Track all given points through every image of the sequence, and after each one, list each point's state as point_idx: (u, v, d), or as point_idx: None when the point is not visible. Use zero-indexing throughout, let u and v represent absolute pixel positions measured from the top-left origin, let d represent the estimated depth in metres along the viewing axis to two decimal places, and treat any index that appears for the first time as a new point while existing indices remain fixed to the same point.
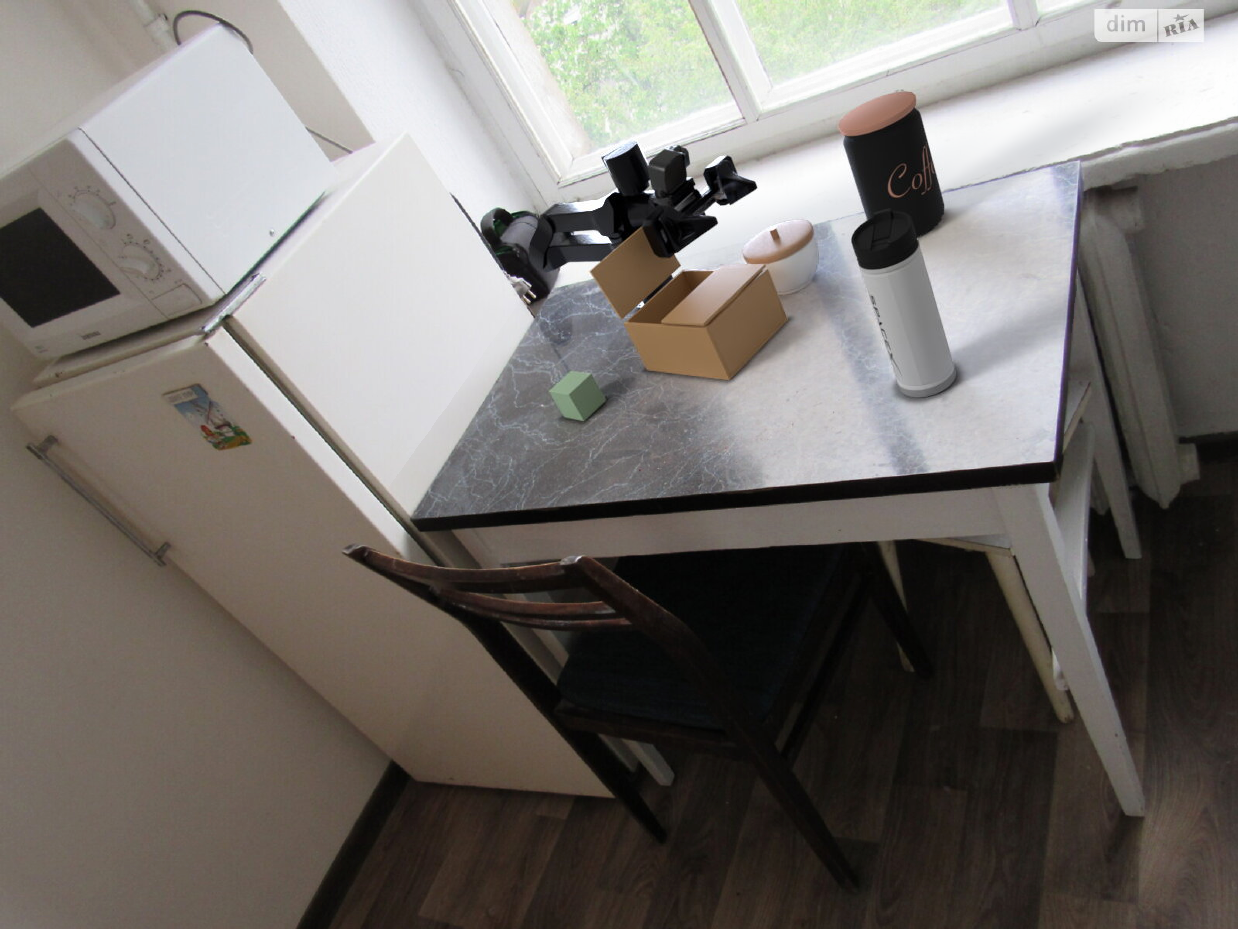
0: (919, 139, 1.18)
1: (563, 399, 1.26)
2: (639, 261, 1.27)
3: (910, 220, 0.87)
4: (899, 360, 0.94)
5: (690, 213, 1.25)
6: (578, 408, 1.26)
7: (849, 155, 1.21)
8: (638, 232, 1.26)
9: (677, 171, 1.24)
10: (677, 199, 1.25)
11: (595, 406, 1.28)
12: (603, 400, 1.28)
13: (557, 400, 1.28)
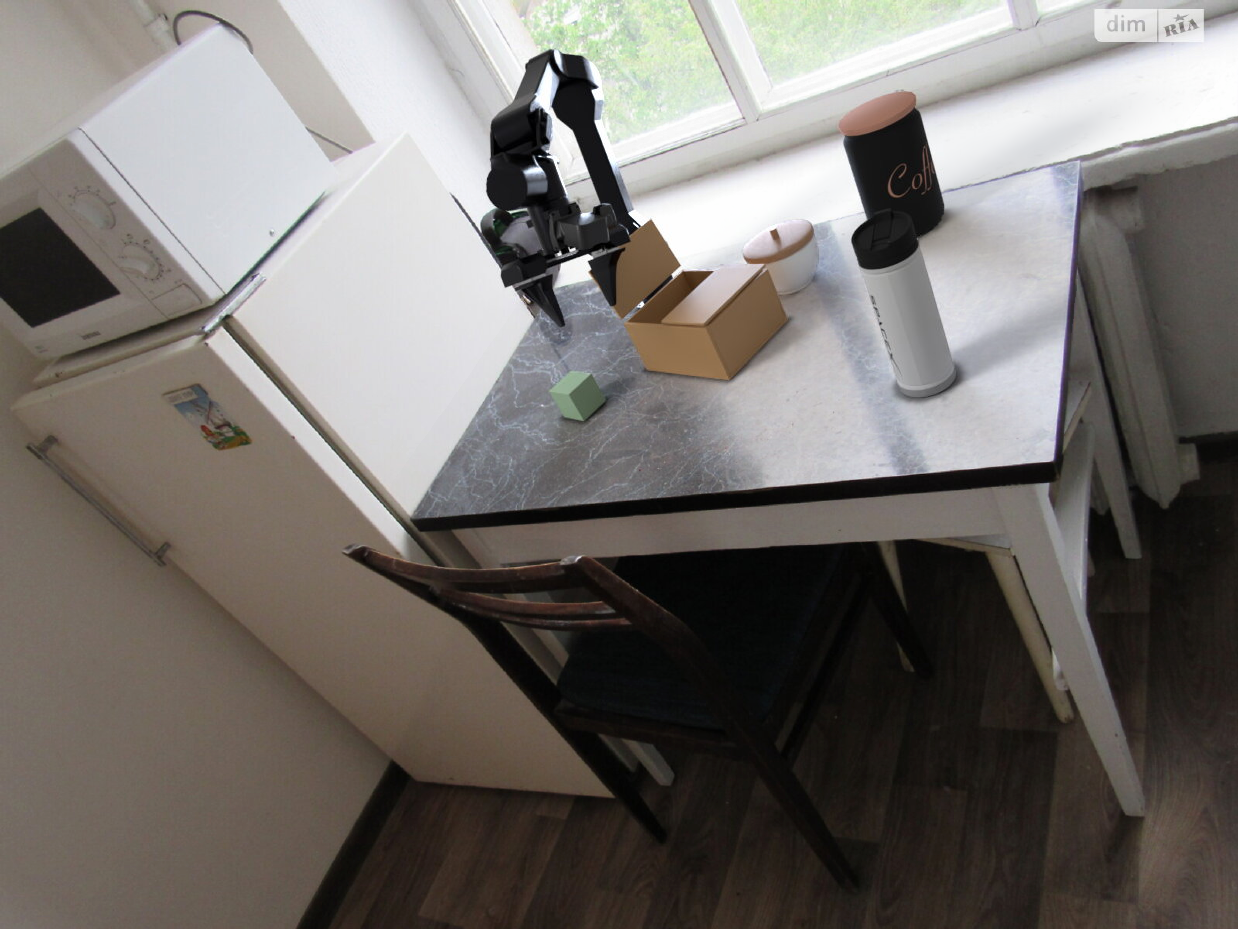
0: (919, 139, 1.18)
1: (563, 399, 1.26)
2: (638, 261, 1.27)
3: (910, 220, 0.87)
4: (899, 360, 0.94)
5: None
6: (578, 408, 1.26)
7: (849, 155, 1.21)
8: (637, 232, 1.27)
9: None
10: (564, 248, 1.14)
11: (595, 406, 1.28)
12: (603, 400, 1.28)
13: (557, 400, 1.28)
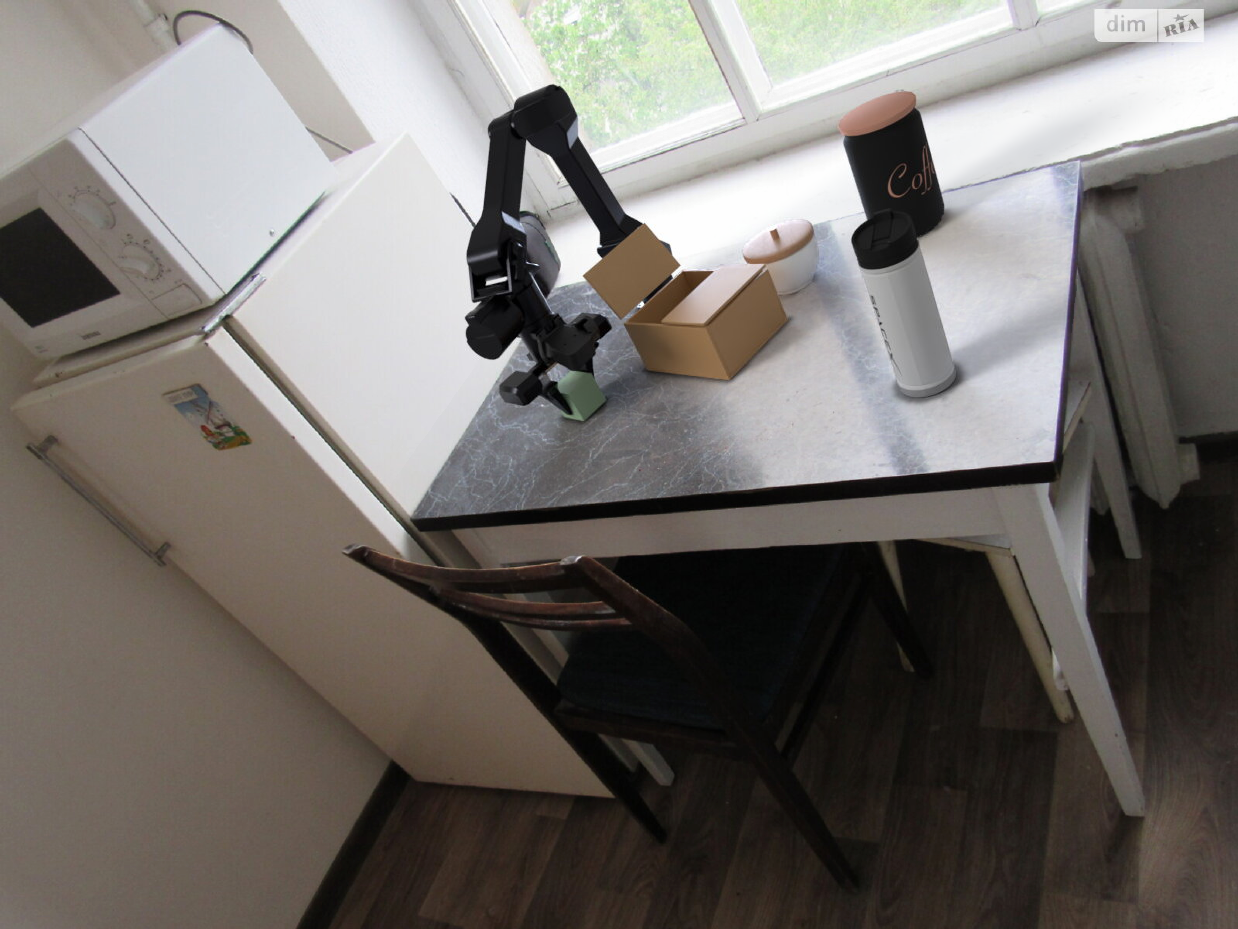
0: (919, 139, 1.18)
1: None
2: (634, 263, 1.28)
3: (910, 220, 0.87)
4: (899, 360, 0.94)
5: None
6: (578, 408, 1.26)
7: (849, 155, 1.21)
8: (630, 236, 1.28)
9: None
10: None
11: (595, 406, 1.28)
12: (603, 400, 1.28)
13: None
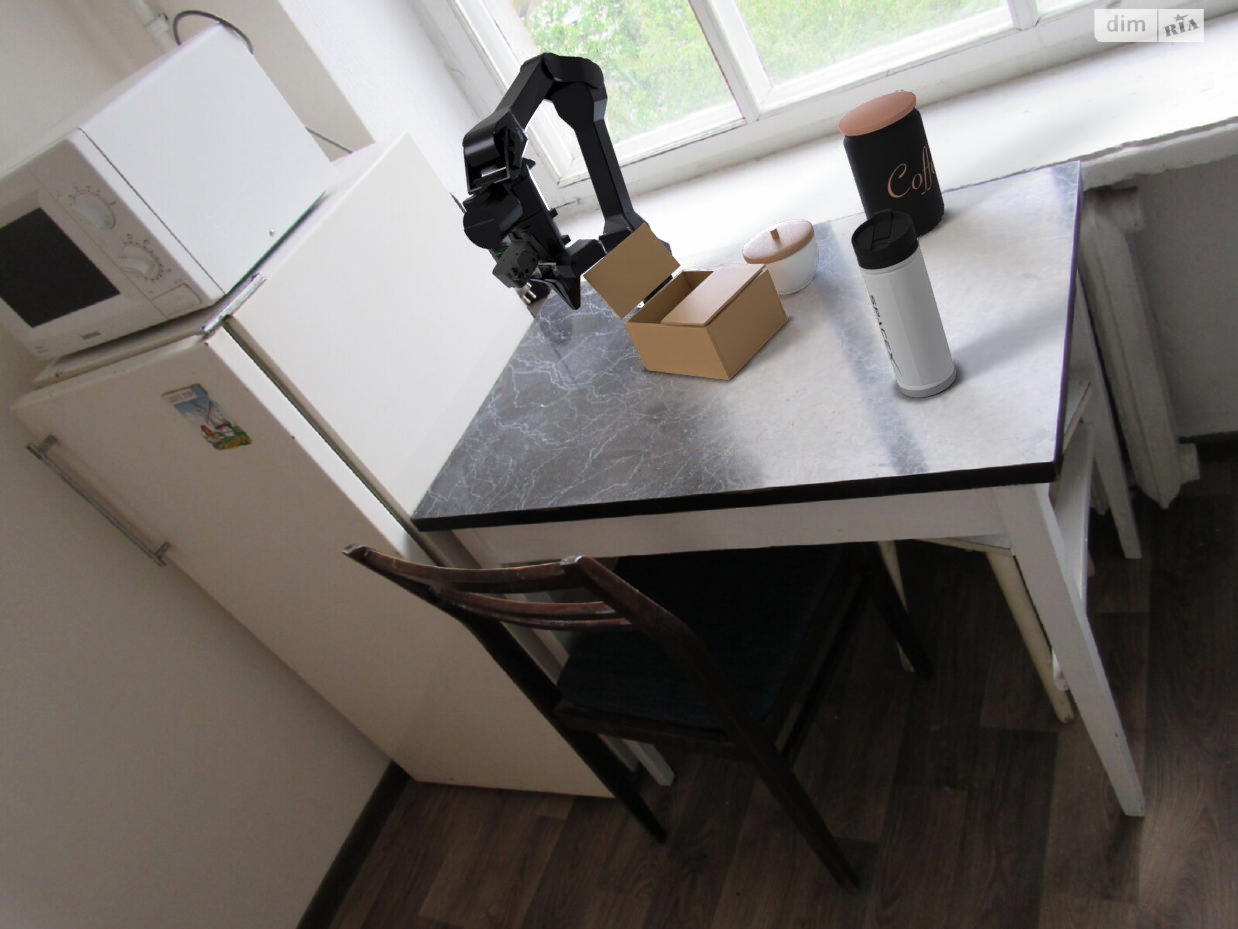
0: (919, 139, 1.18)
1: None
2: (635, 263, 1.28)
3: (910, 220, 0.87)
4: (899, 360, 0.94)
5: None
6: None
7: (849, 155, 1.21)
8: (631, 236, 1.28)
9: None
10: None
11: None
12: None
13: None
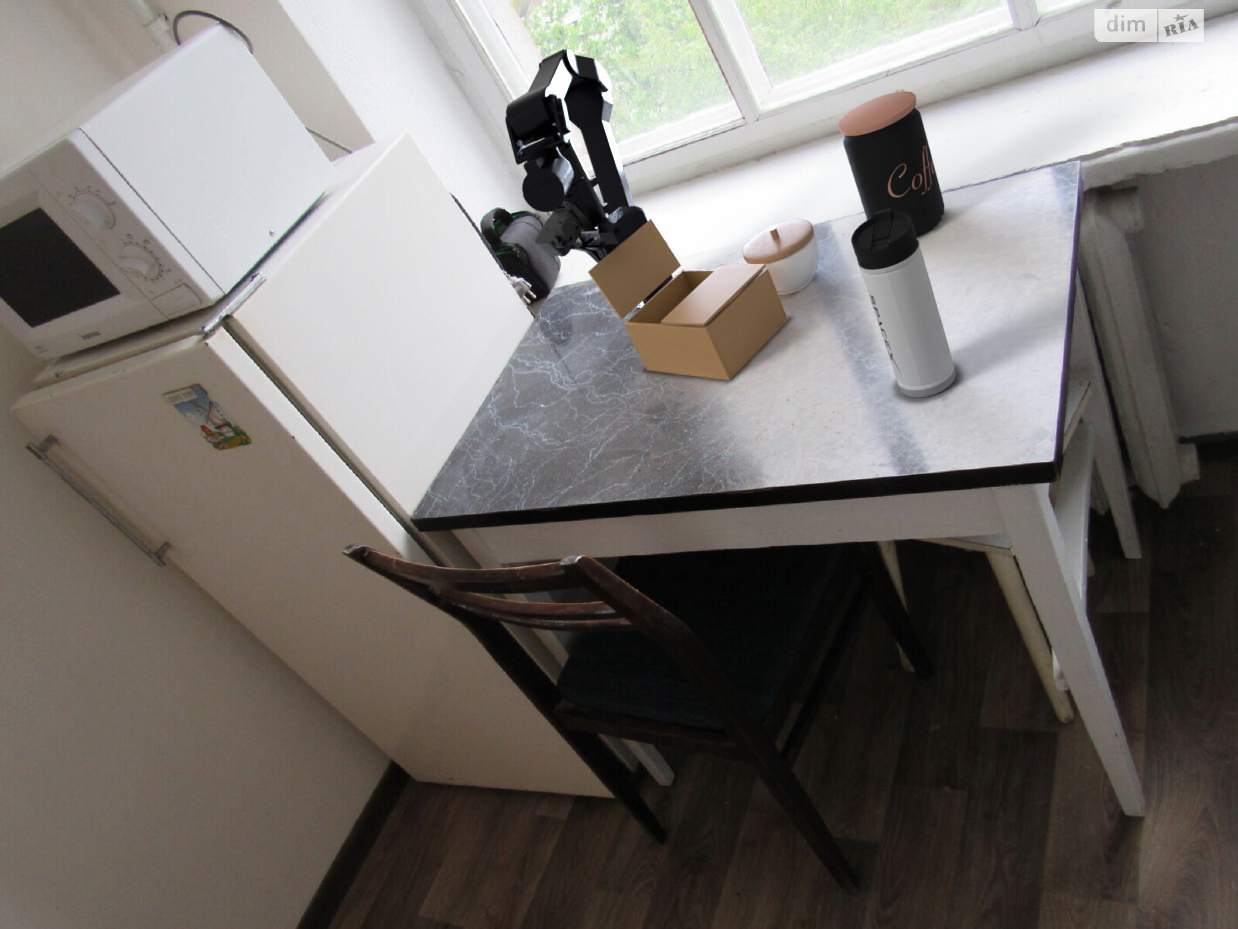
0: (919, 139, 1.18)
1: None
2: (638, 261, 1.27)
3: (910, 220, 0.87)
4: (899, 360, 0.94)
5: None
6: None
7: (849, 155, 1.21)
8: (636, 233, 1.27)
9: None
10: None
11: None
12: None
13: None
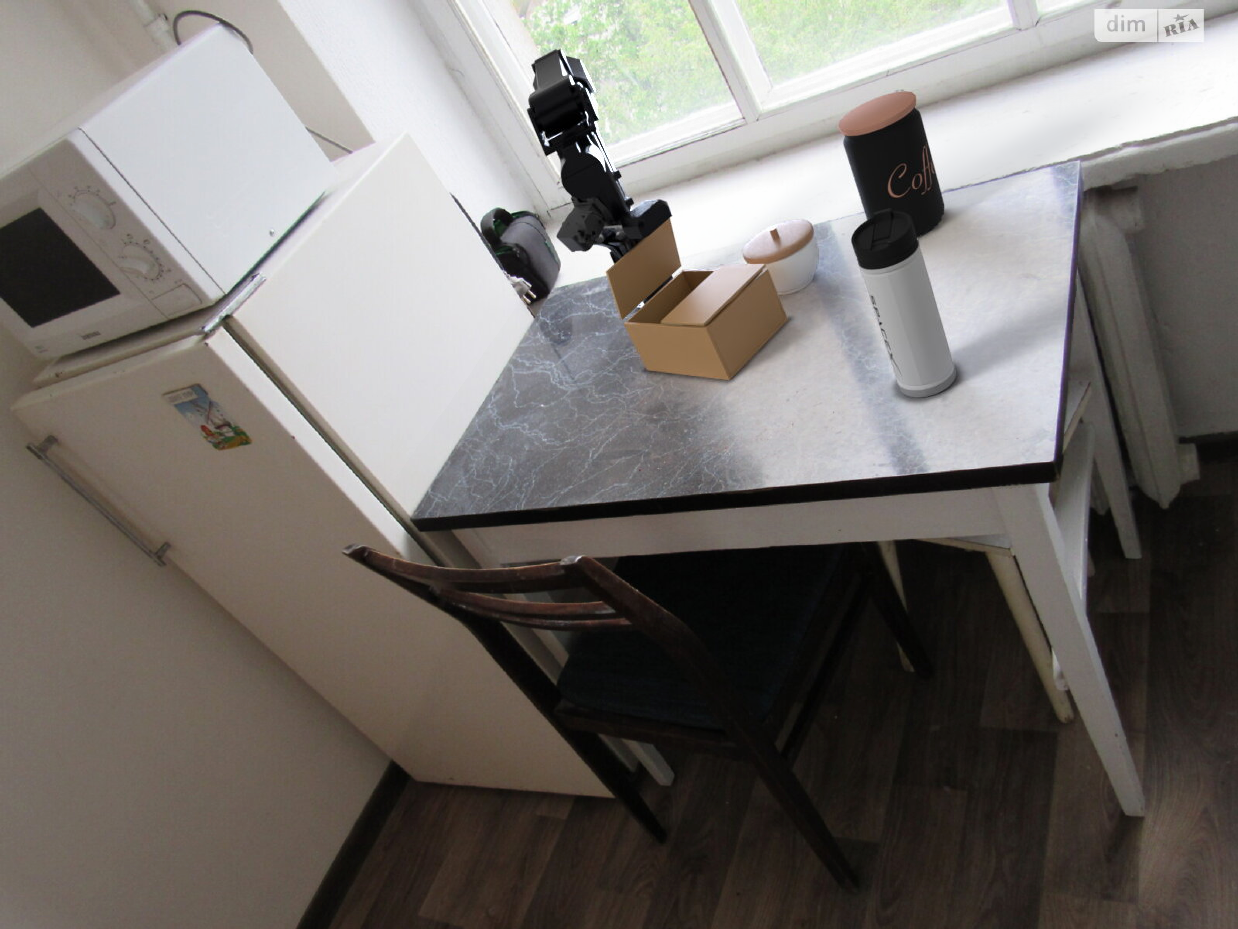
0: (919, 139, 1.18)
1: None
2: (649, 262, 1.25)
3: (910, 220, 0.87)
4: (899, 360, 0.94)
5: None
6: None
7: (849, 155, 1.21)
8: (655, 232, 1.24)
9: None
10: None
11: None
12: None
13: None
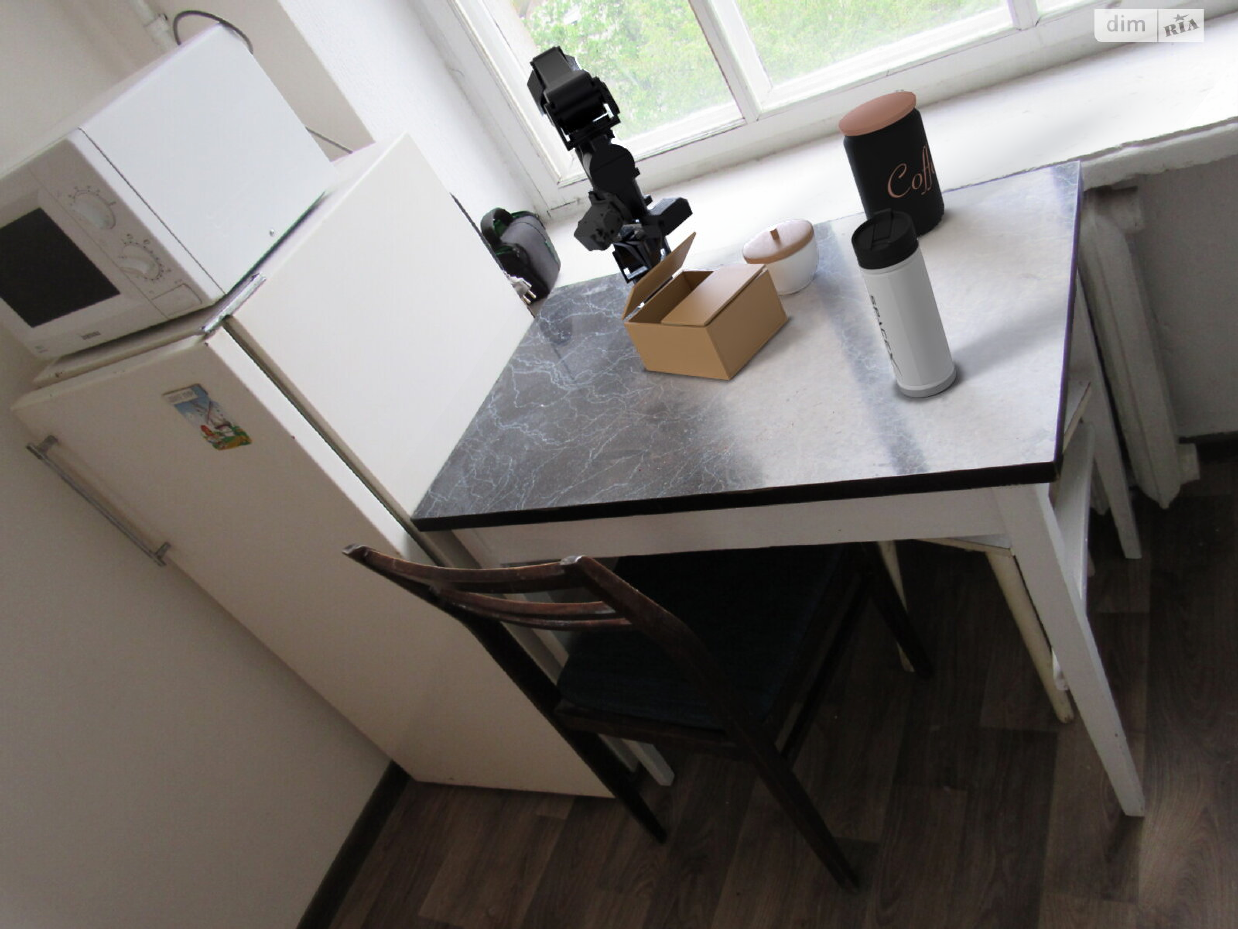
0: (919, 139, 1.18)
1: None
2: (664, 271, 1.24)
3: (910, 220, 0.87)
4: (899, 360, 0.94)
5: None
6: None
7: (849, 155, 1.21)
8: (680, 247, 1.22)
9: None
10: None
11: None
12: None
13: None
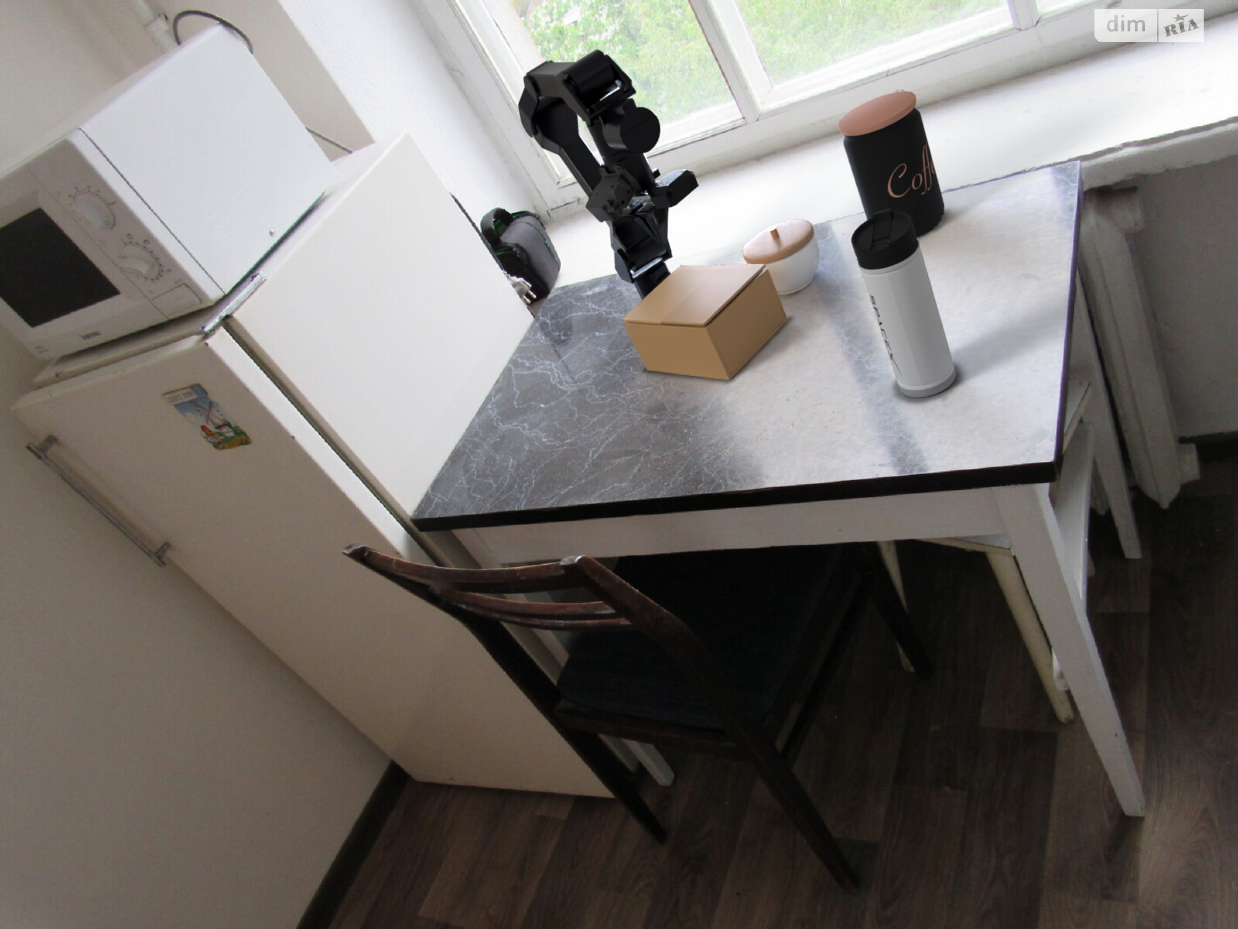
0: (919, 139, 1.18)
1: None
2: None
3: (910, 220, 0.87)
4: (899, 360, 0.94)
5: None
6: None
7: (849, 155, 1.21)
8: None
9: None
10: None
11: None
12: None
13: None
